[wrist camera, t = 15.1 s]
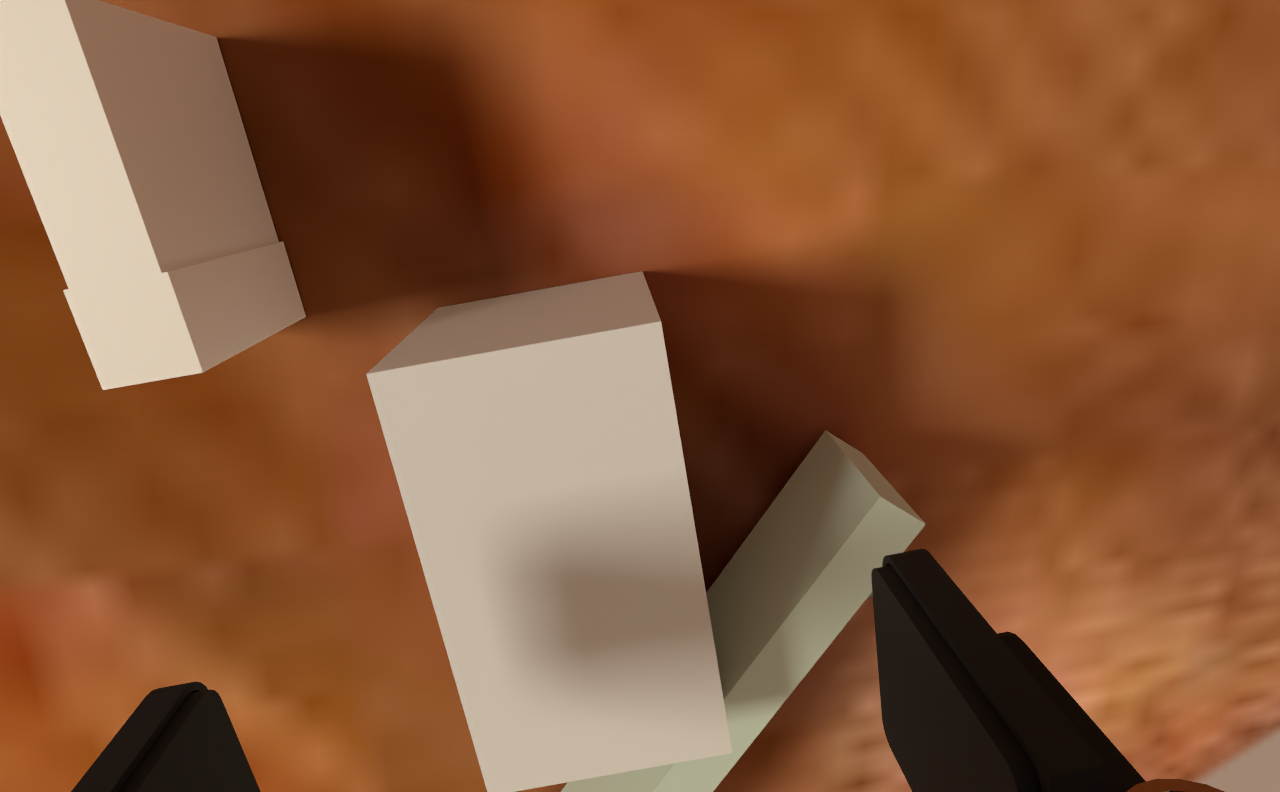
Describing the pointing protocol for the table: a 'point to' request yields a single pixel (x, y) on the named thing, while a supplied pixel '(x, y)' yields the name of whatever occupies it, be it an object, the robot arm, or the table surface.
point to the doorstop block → (557, 530)
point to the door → (787, 599)
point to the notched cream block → (142, 187)
